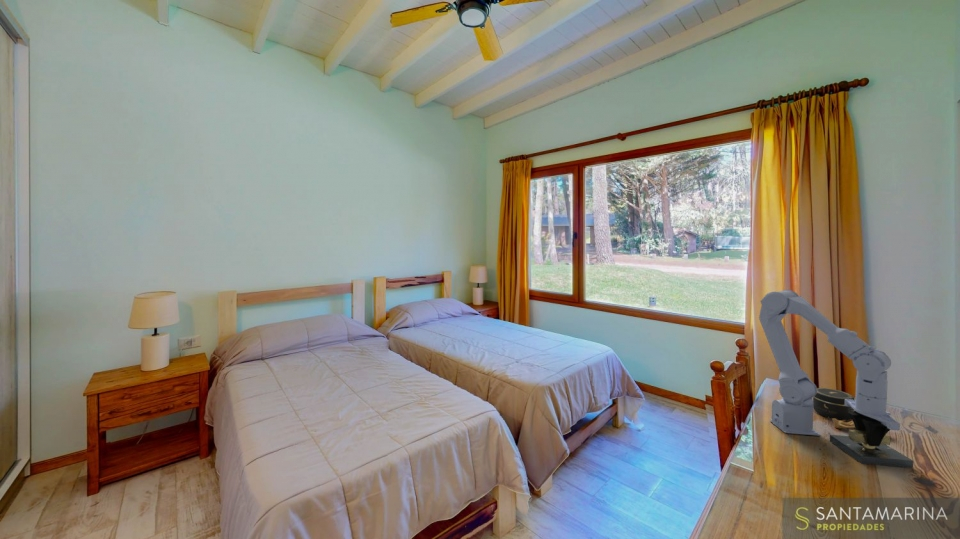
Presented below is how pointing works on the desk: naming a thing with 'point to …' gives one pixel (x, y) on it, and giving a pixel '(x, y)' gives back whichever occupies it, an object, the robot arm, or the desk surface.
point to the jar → (832, 404)
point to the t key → (862, 438)
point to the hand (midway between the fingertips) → (868, 442)
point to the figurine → (843, 424)
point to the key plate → (871, 453)
